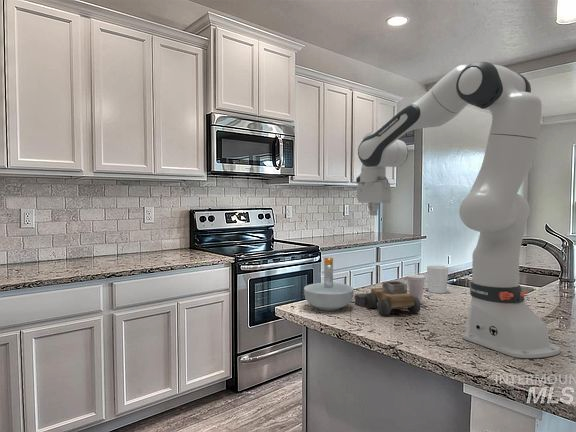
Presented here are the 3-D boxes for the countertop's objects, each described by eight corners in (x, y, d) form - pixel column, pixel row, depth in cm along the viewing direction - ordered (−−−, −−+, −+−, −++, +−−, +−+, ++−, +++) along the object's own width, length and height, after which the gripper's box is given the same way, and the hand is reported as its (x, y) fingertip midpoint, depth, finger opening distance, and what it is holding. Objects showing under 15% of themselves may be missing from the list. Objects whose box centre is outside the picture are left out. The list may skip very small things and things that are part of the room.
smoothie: (423, 300, 146) (423, 262, 145) (427, 305, 139) (427, 265, 139) (405, 300, 146) (405, 262, 146) (408, 305, 140) (408, 265, 140)
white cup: (451, 293, 156) (451, 268, 156) (430, 294, 156) (430, 268, 156) (443, 289, 164) (443, 265, 164) (424, 289, 164) (424, 265, 164)
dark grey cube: (370, 306, 139) (370, 296, 139) (359, 307, 138) (359, 297, 138) (365, 303, 143) (365, 293, 143) (354, 304, 142) (354, 294, 142)
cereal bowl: (294, 308, 137) (293, 287, 137) (323, 299, 149) (323, 280, 149) (334, 317, 126) (334, 295, 125) (363, 307, 138) (363, 286, 138)
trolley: (420, 314, 129) (420, 286, 128) (385, 317, 125) (385, 288, 125) (397, 303, 142) (397, 278, 142) (365, 306, 139) (365, 280, 139)
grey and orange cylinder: (334, 288, 136) (334, 258, 136) (325, 288, 135) (325, 259, 135) (331, 286, 139) (331, 257, 139) (322, 286, 138) (323, 257, 138)
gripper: (395, 176, 138) (395, 216, 138) (368, 179, 157) (368, 214, 158) (379, 175, 136) (379, 216, 137) (354, 179, 156) (354, 214, 156)
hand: (373, 215), depth 147 cm, fingers closed
